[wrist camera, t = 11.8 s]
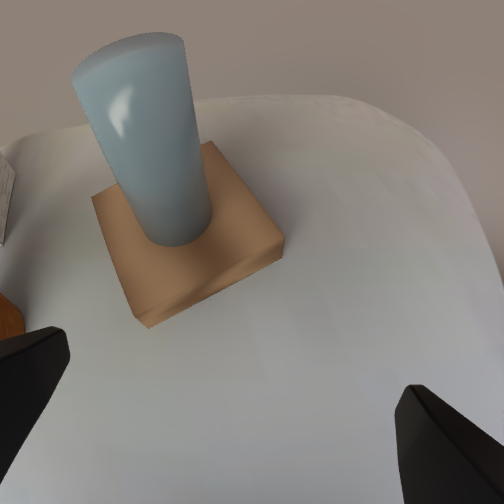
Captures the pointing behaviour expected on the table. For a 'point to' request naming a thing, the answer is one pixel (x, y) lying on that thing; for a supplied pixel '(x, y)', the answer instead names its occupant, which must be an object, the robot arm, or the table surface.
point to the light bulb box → (5, 193)
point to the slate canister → (149, 132)
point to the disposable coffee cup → (10, 320)
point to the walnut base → (189, 246)
